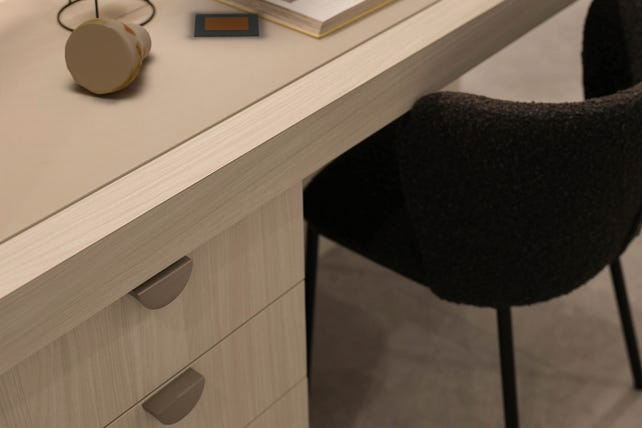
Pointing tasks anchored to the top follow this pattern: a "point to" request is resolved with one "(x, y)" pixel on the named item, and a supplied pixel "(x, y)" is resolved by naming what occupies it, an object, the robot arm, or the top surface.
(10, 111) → the top surface
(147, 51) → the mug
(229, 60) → the top surface
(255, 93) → the top surface
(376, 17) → the top surface
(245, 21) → the mat
